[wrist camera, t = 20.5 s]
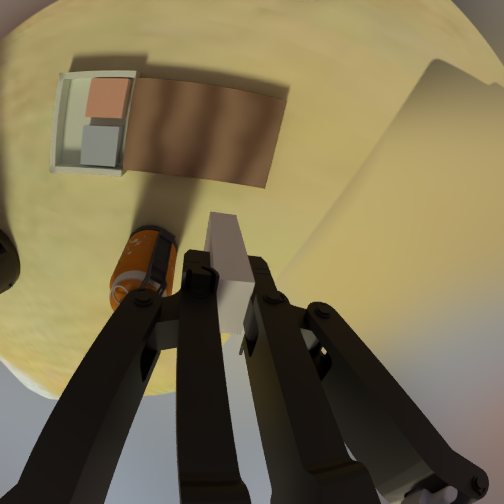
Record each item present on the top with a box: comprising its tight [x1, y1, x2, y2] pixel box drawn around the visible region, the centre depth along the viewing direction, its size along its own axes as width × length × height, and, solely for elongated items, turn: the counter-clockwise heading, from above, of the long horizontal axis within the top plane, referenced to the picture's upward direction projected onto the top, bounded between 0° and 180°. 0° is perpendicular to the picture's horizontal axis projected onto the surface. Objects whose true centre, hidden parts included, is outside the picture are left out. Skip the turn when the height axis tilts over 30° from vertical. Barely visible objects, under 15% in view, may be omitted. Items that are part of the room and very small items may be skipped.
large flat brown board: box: [122, 78, 287, 189], centre depth 37 cm, size 22×14×2 cm, turn 77°
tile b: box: [80, 124, 124, 167], centre depth 35 cm, size 6×6×2 cm
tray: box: [50, 70, 141, 177], centre depth 33 cm, size 13×16×3 cm
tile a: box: [85, 78, 133, 118], centre depth 32 cm, size 6×6×2 cm
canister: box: [109, 226, 177, 312], centre depth 38 cm, size 9×11×20 cm
